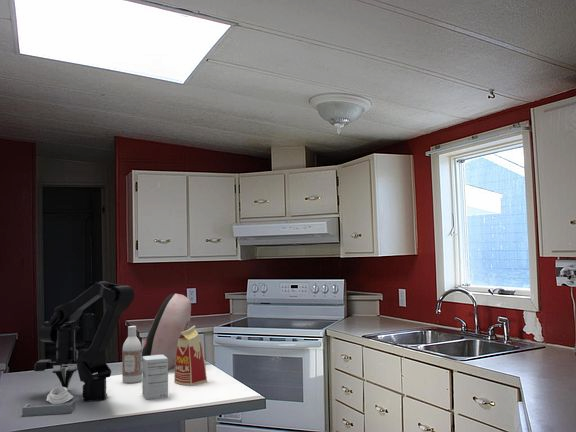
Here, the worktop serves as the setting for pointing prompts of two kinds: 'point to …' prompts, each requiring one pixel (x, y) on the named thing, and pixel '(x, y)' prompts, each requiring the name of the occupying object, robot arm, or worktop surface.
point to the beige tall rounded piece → (168, 328)
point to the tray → (48, 409)
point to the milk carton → (189, 359)
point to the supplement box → (155, 376)
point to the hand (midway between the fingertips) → (65, 390)
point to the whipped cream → (59, 395)
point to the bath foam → (132, 358)
